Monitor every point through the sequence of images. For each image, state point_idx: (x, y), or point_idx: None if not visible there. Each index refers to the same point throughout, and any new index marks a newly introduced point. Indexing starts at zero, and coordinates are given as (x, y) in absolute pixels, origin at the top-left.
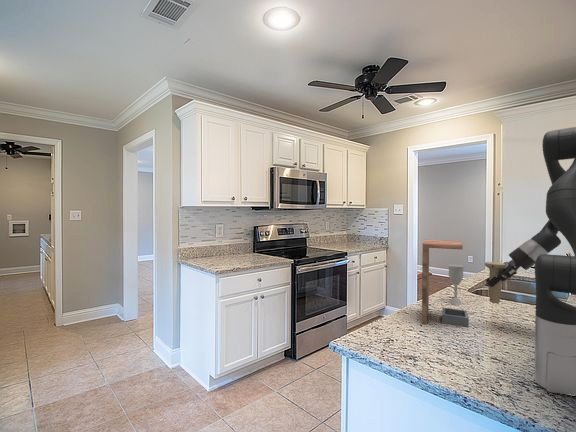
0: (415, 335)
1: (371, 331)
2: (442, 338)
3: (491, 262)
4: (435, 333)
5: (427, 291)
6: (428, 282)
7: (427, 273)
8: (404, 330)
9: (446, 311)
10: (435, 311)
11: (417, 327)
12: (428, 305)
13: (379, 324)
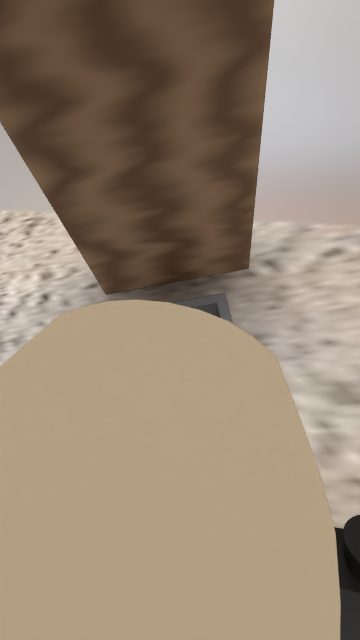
0: (10, 295)
1: (7, 226)
2: (8, 351)
3: (226, 443)
4: (41, 329)
5: (135, 208)
6: (225, 169)
7: (86, 119)
8: (36, 268)
9: (218, 313)
10: (260, 285)
11: (71, 284)
12: (243, 254)
13: (57, 221)
